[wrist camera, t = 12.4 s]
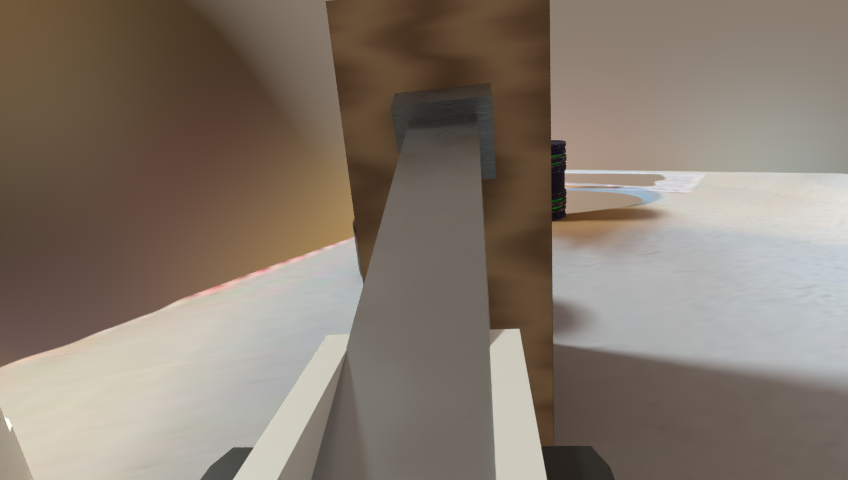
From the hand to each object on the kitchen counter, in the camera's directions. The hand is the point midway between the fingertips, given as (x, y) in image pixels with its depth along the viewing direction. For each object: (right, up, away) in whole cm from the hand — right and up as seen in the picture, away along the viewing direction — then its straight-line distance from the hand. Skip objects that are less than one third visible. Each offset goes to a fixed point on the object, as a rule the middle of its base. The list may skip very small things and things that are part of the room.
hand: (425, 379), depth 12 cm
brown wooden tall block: (+4, -9, +28) cm, 30 cm away
